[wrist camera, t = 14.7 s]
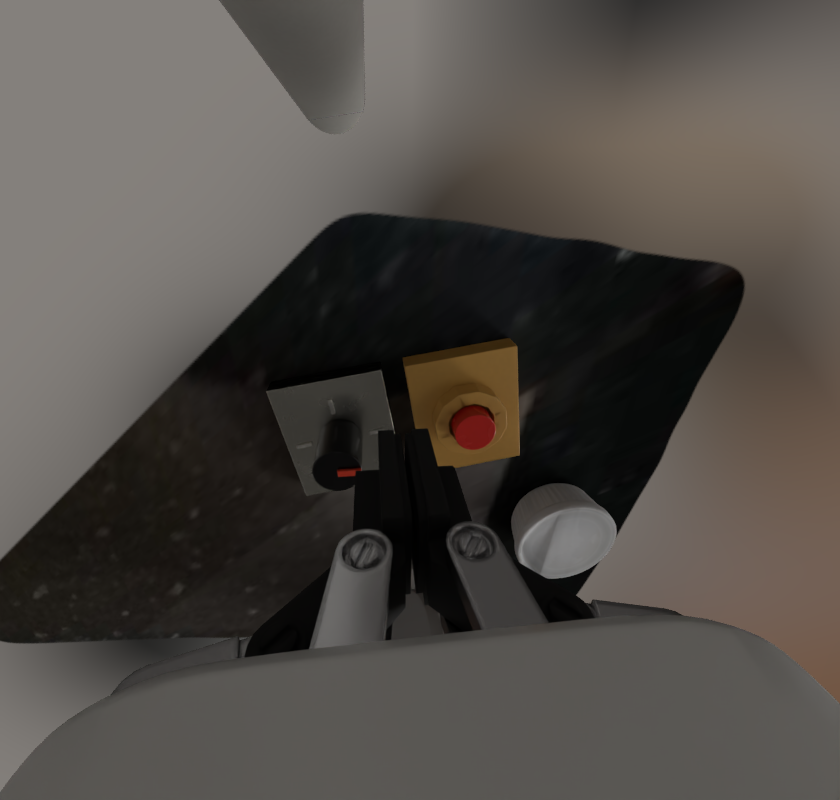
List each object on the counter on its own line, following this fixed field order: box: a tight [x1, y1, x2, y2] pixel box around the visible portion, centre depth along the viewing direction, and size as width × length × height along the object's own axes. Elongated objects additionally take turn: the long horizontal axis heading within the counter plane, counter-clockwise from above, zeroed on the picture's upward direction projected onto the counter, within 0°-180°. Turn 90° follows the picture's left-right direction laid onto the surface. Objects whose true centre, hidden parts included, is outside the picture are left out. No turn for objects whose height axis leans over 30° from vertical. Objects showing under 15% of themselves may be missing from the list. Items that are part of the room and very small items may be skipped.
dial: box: [312, 420, 363, 491], centre depth 33 cm, size 4×4×5 cm
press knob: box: [451, 406, 496, 450], centre depth 34 cm, size 4×4×2 cm
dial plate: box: [266, 362, 396, 496], centre depth 36 cm, size 12×10×2 cm
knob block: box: [403, 338, 520, 468], centre depth 36 cm, size 12×10×4 cm
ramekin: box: [511, 483, 616, 578], centre depth 44 cm, size 11×11×5 cm
